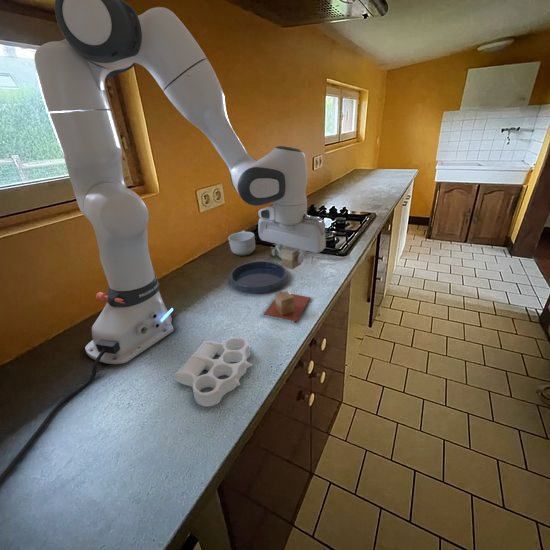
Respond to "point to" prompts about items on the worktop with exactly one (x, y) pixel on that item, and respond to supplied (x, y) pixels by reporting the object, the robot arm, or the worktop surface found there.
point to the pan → (258, 277)
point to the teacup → (242, 243)
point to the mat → (299, 307)
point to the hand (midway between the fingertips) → (291, 259)
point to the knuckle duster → (215, 369)
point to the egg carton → (276, 251)
